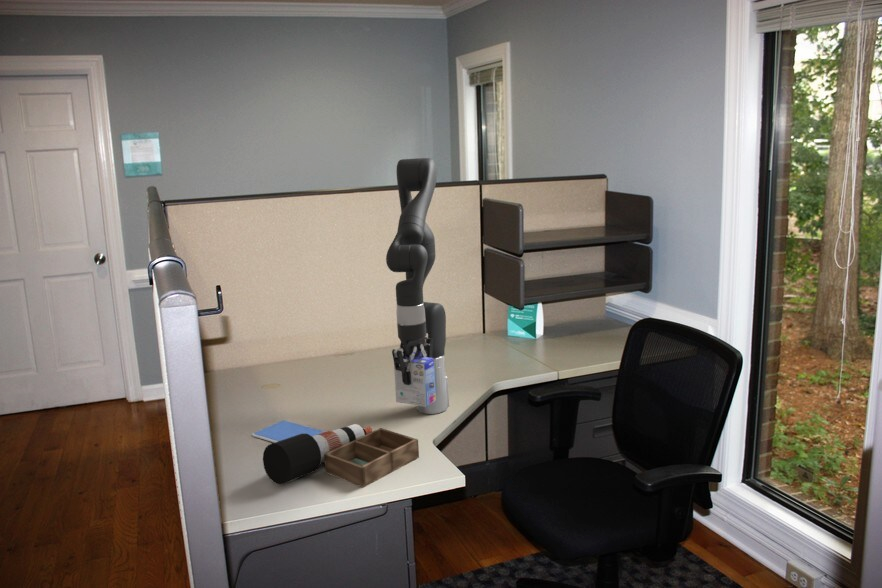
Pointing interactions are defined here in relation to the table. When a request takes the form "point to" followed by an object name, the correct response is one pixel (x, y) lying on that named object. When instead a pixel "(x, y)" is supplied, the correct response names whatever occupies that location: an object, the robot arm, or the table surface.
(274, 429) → the blue flat pad
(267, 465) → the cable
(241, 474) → the table surface
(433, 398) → the ink cartridge box
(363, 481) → the slot caddy
